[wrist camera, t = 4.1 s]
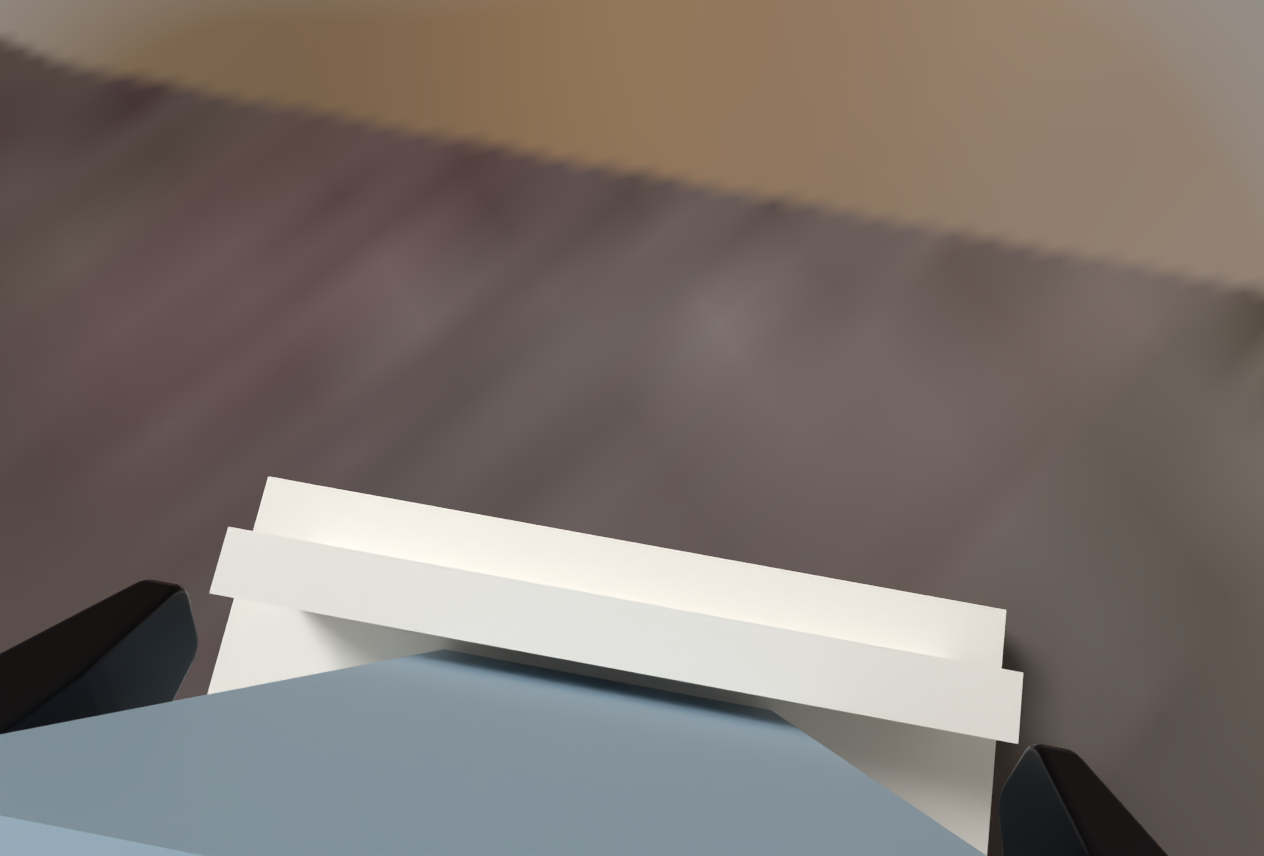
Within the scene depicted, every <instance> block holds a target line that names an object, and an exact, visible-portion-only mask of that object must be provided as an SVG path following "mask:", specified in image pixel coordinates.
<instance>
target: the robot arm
mask: <svg viewBox="0 0 1264 856" xmlns="http://www.w3.org/2000/svg"><path fill="white" fill-rule="evenodd" d="M197 647H198V635H197V631H196V626H195V622H194V617H193V613H192V608H191V603H190V599H189V595H188V592H187V591H186V590H185V588H184V587H183V586H180V585H178V584H172V583H167V582H162V581H156V580H143V581H140V582H138V583H135V584H133V585H131V586H129V587H128V588H126V589H124V590H122V591H120V592H118V593H116V594H114V595H112V596H110V597H108V598H106V599H104V600H103V601H101V602H99V603H97V604H95V605H93V606H91V607H89V608H87V609H85V610H83V611H81V612H79V613H78V614H76V615H74V616H72V617H70V618H68V619H66V620H64V621H62V622H60V623H58V624H56V625H54V626H53V627H51V628H49V629H47V630H45V631H43V632H41V633H39V634H37V635H35V636H33V637H31V638H29V639H28V640H26V641H24V642H22V643H20V644H18V645H16V646H14V647H12V648H10V649H8V650H6V651H4V652H3V653H1V654H0V734H5V733H10V732H16V731H21V730H26V729H31V728H36V727H42V726H47V725H52V724H57V723H62V722H68V721H73V720H78V719H83V718H88V717H94V716H99V715H104V714H109V713H114V712H120V711H125V710H130V709H135V708H140V707H146V706H151V705H156V704H161V703H166V702H172V701H173V700H174V698H175V696H176V694H177V692H178V690H179V688H180V686H181V685H182V683H183V681H184V679H185V677H186V675H187V673H188V671H189V669H190V667H191V665H192V663H193V660H194V658H195V655H196V652H197ZM998 815H999V824H1000V834H1001V843H1002V852H1003V856H1168V855H1167V854H1166V853H1165V852H1164V851H1163V850H1162V848H1161V847H1160V846H1159V845H1158V844H1157V843H1156V842H1155V841H1154V839H1153V838H1152V837H1151V836H1150V835H1149V834H1148V833H1147V832H1146V830H1145V829H1144V828H1143V827H1142V826H1141V825H1140V824H1139V823H1138V821H1137V820H1136V819H1135V818H1134V817H1133V816H1132V815H1131V814H1130V812H1129V811H1128V810H1127V809H1126V808H1125V807H1124V806H1123V805H1122V803H1121V802H1120V801H1119V800H1118V799H1117V798H1116V797H1115V796H1114V794H1113V793H1112V792H1111V791H1110V790H1109V789H1108V788H1107V787H1106V785H1105V784H1104V783H1103V782H1102V781H1101V780H1100V779H1099V778H1098V776H1097V775H1096V774H1095V773H1094V772H1093V771H1092V770H1091V769H1090V767H1089V766H1088V765H1087V764H1086V763H1085V762H1084V761H1083V760H1082V759H1081V758H1080V757H1079V756H1078V755H1077V754H1076V753H1074V752H1073V751H1071V750H1068V749H1064V748H1059V747H1053V746H1048V745H1042V744H1033V745H1031V746H1029V747H1028V748H1027V749H1026V750H1025V751H1024V753H1023V755H1022V756H1021V758H1020V760H1019V761H1018V763H1017V764H1016V766H1015V768H1014V769H1013V771H1012V773H1011V774H1010V776H1009V778H1008V779H1007V781H1006V782H1005V784H1004V786H1003V788H1002V790H1001V793H1000V796H999V802H998Z"/></svg>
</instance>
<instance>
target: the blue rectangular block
mask: <svg viewBox="0 0 1264 856" xmlns="http://www.w3.org/2000/svg"><path fill="white" fill-rule="evenodd" d="M0 856H986V855H985V854H983V853H982V852H980V851H979V850H977V849H976V848H974V847H973V846H971V845H970V844H969V843H967V842H966V841H964V840H963V839H961V838H960V837H958V836H957V835H955V834H954V833H952V832H951V831H949V830H948V829H946V828H945V827H943V826H942V825H940V824H939V823H937V822H936V821H934V820H933V819H931V818H930V817H929V816H927V815H926V814H924V813H923V812H921V811H920V810H918V809H917V808H915V807H914V806H912V805H911V804H909V803H908V802H906V801H905V800H903V799H902V798H900V797H899V796H897V795H896V794H894V793H893V792H891V791H890V790H889V789H887V788H886V787H884V786H883V785H881V784H880V783H878V782H877V781H875V780H874V779H872V778H871V777H869V776H868V775H866V774H865V773H863V772H862V771H860V770H859V769H857V768H856V767H854V766H853V765H851V764H850V763H849V762H847V761H846V760H844V759H843V758H841V757H840V756H838V755H837V754H835V753H834V752H832V751H831V750H829V749H828V748H826V747H825V746H823V745H822V744H820V743H819V742H817V741H816V740H814V739H813V738H811V737H810V736H809V735H807V734H806V733H804V732H803V731H801V730H800V729H798V728H797V727H795V726H794V725H792V724H791V723H789V722H788V721H786V720H785V719H783V718H782V717H780V716H779V715H777V714H776V713H774V712H773V711H771V710H767V709H761V708H756V707H750V706H745V705H740V704H734V703H729V702H724V701H718V700H713V699H708V698H702V697H697V696H692V695H686V694H681V693H676V692H670V691H665V690H660V689H654V688H649V687H644V686H638V685H633V684H627V683H622V682H617V681H611V680H606V679H601V678H595V677H590V676H585V675H579V674H574V673H569V672H563V671H558V670H553V669H547V668H542V667H537V666H531V665H526V664H521V663H515V662H510V661H504V660H499V659H494V658H488V657H483V656H478V655H472V654H467V653H462V652H456V651H451V650H446V649H442V650H437V651H432V652H427V653H422V654H416V655H411V656H406V657H401V658H396V659H390V660H385V661H380V662H375V663H370V664H364V665H359V666H354V667H349V668H343V669H338V670H333V671H328V672H323V673H317V674H312V675H307V676H302V677H297V678H291V679H286V680H281V681H276V682H271V683H265V684H260V685H255V686H250V687H245V688H239V689H234V690H229V691H224V692H219V693H213V694H208V695H203V696H198V697H193V698H187V699H182V700H177V701H172V702H166V703H161V704H156V705H151V706H146V707H140V708H135V709H130V710H125V711H120V712H114V713H109V714H104V715H99V716H94V717H88V718H83V719H78V720H73V721H68V722H62V723H57V724H52V725H47V726H42V727H36V728H31V729H26V730H21V731H16V732H10V733H5V734H0Z"/></svg>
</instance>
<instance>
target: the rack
mask: <svg viewBox="0 0 1264 856" xmlns="http://www.w3.org/2000/svg"><path fill="white" fill-rule="evenodd" d="M210 593H211V594H216V595H222V596H227V597H232V598H234V601H233V604H232V608H231V612H230V615H229V619H228V622H227V626H226V630H225V633H224V637H223V640H222V644H221V647H220V651H219V655H218V658H217V662H216V665H215V669H214V673H213V676H212V680H211V683H210V687H209V690H208V694H213V693H219V692H224V691H229V690H234V689H239V688H245V687H250V686H255V685H260V684H265V683H271V682H276V681H281V680H286V679H291V678H297V677H302V676H307V675H312V674H317V673H323V672H328V671H333V670H338V669H343V668H349V667H354V666H359V665H364V664H370V663H375V662H380V661H385V660H390V659H396V658H401V657H406V656H411V655H416V654H422V653H427V652H432V651H437V650H442V649H446V650H451V651H456V652H462V653H467V654H472V655H478V656H483V657H488V658H494V659H499V660H504V661H510V662H515V663H521V664H526V665H531V666H537V667H542V668H547V669H553V670H558V671H563V672H569V673H574V674H579V675H585V676H590V677H595V678H601V679H606V680H611V681H617V682H622V683H627V684H633V685H638V686H644V687H649V688H654V689H660V690H665V691H670V692H676V693H681V694H686V695H692V696H697V697H702V698H708V699H713V700H718V701H724V702H729V703H734V704H740V705H745V706H750V707H756V708H761V709H767V710H771V711H773V712H774V713H776V714H777V715H779V716H780V717H782V718H783V719H785V720H786V721H788V722H789V723H791V724H792V725H794V726H795V727H797V728H798V729H800V730H801V731H803V732H804V733H806V734H807V735H809V736H810V737H811V738H813V739H814V740H816V741H817V742H819V743H820V744H822V745H823V746H825V747H826V748H828V749H829V750H831V751H832V752H834V753H835V754H837V755H838V756H840V757H841V758H843V759H844V760H846V761H847V762H849V763H850V764H851V765H853V766H854V767H856V768H857V769H859V770H860V771H862V772H863V773H865V774H866V775H868V776H869V777H871V778H872V779H874V780H875V781H877V782H878V783H880V784H881V785H883V786H884V787H886V788H887V789H889V790H890V791H891V792H893V793H894V794H896V795H897V796H899V797H900V798H902V799H903V800H905V801H906V802H908V803H909V804H911V805H912V806H914V807H915V808H917V809H918V810H920V811H921V812H923V813H924V814H926V815H927V816H929V817H930V818H931V819H933V820H934V821H936V822H937V823H939V824H940V825H942V826H943V827H945V828H946V829H948V830H949V831H951V832H952V833H954V834H955V835H957V836H958V837H960V838H961V839H963V840H964V841H966V842H967V843H969V844H970V845H971V846H973V847H974V848H976V849H977V850H979V851H980V852H982V853H983V854H985V855H986V856H987V850H988V837H989V824H990V812H991V799H992V786H993V773H994V760H995V748H996V740H999V741H1005V742H1010V743H1015V744H1018V740H1019V727H1020V713H1021V699H1022V685H1023V672H1017V671H1012V670H1006V669H1002V658H1003V645H1004V633H1005V620H1006V610H1003V609H998V608H992V607H987V606H981V605H976V604H970V603H965V602H959V601H954V600H948V599H943V598H937V597H932V596H926V595H921V594H915V593H910V592H904V591H898V590H893V589H887V588H882V587H876V586H871V585H865V584H860V583H854V582H849V581H843V580H838V579H832V578H827V577H821V576H816V575H810V574H805V573H799V572H793V571H788V570H782V569H777V568H771V567H766V566H760V565H755V564H749V563H744V562H738V561H733V560H727V559H722V558H716V557H711V556H705V555H700V554H694V553H688V552H683V551H677V550H672V549H666V548H661V547H655V546H650V545H644V544H639V543H633V542H628V541H622V540H617V539H611V538H606V537H600V536H595V535H589V534H584V533H578V532H572V531H567V530H561V529H556V528H550V527H545V526H539V525H534V524H528V523H523V522H517V521H512V520H506V519H501V518H495V517H490V516H484V515H479V514H473V513H467V512H462V511H456V510H451V509H445V508H440V507H434V506H429V505H423V504H418V503H412V502H407V501H401V500H396V499H390V498H385V497H379V496H374V495H368V494H362V493H357V492H351V491H346V490H340V489H335V488H329V487H324V486H318V485H313V484H307V483H302V482H296V481H291V480H285V479H280V478H274V477H269V476H268V479H267V483H266V486H265V490H264V494H263V497H262V501H261V504H260V508H259V511H258V515H257V519H256V522H255V526H254V529H253V531H249V530H243V529H238V528H232V527H228V530H227V533H226V537H225V540H224V544H223V547H222V551H221V554H220V558H219V561H218V565H217V568H216V572H215V575H214V579H213V582H212V586H211V589H210ZM208 694H207V695H208Z"/></svg>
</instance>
